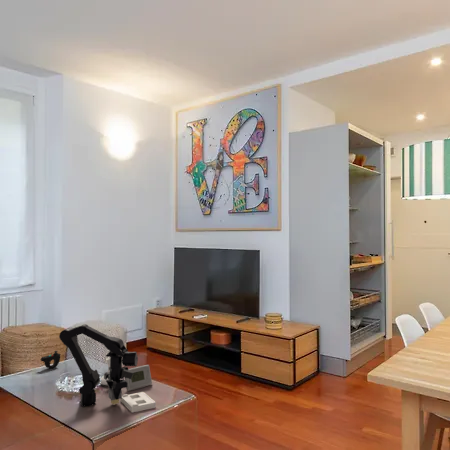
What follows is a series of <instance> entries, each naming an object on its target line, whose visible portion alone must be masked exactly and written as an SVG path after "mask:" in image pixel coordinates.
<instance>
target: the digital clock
mask: <svg viewBox="0 0 450 450" xmlns="http://www.w3.org/2000/svg"><path fill="white" fill-rule="evenodd" d="M128 370H130V371H132V372H133V376H132V378H131V379H129V378H125V377H124V380H125V381H126V382H127V383H128V387H126V388H125V389H126V391H128V392H130V391H134V390H135V391H136V390H139V389H142V388H146V387H147V386H148V387H149V386H151V385H153V381H152V374H151V369H150V364H145V365H139V366H133V367H129V368H128Z"/></svg>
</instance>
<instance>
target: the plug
mask: <svg viewBox="0 0 450 450" xmlns="http://www.w3.org/2000/svg"><path fill="white" fill-rule="evenodd" d="M122 392H123V390H122V389H121V391H120V394H119V398H118V399H117V400H116V399H115V396H114V393H113V390H112V388H110V389H109V388H108V398H109V400H110V403H111V404H112V405H117V404H119V403H120V400H121V398H122V395H123V393H122Z"/></svg>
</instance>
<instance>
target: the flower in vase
mask: <svg viewBox="0 0 450 450" xmlns="http://www.w3.org/2000/svg"><path fill="white" fill-rule="evenodd" d="M105 360H106V362H107V365H108V366H107V372H110V370H109V367H110V357H107V358H106V359H105ZM100 379H101V380H102V381H101V383H100V384H101V385H102V386H108V385H107V382H106V381H107V380H108V378H107V380H105V379H104V375H103V376H102V377H100Z"/></svg>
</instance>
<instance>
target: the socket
mask: <svg viewBox="0 0 450 450" xmlns="http://www.w3.org/2000/svg"><path fill="white" fill-rule="evenodd" d="M120 402H121V403H122V405H124V407H126V408H127V409H128V411H130V412H131V413H137V412H142V411H145V410H146V411H147V410H151V409H155V407H156V404H157V403H156V401H155V400H154V399H152V398H151V397H150V396H149V395H148V394H147V393H145V392H144V391H141V392H136V393H131V394H127V393H125V394H122V398H121V399H120ZM156 408H157V407H156Z"/></svg>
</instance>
